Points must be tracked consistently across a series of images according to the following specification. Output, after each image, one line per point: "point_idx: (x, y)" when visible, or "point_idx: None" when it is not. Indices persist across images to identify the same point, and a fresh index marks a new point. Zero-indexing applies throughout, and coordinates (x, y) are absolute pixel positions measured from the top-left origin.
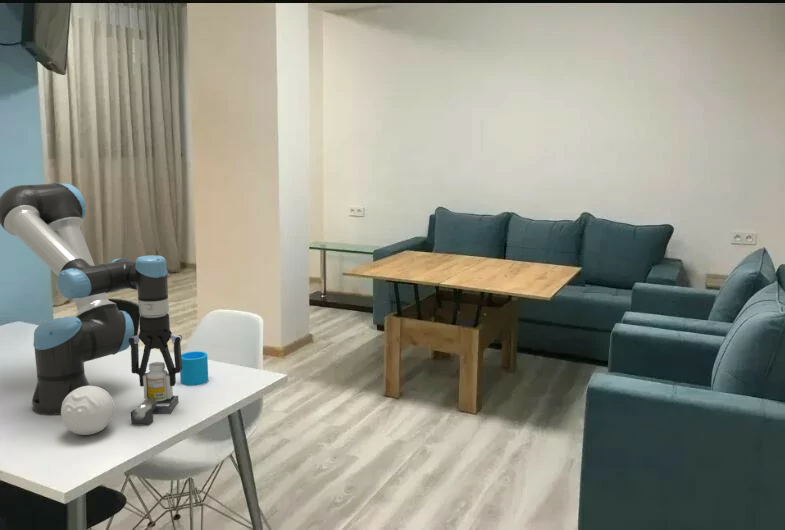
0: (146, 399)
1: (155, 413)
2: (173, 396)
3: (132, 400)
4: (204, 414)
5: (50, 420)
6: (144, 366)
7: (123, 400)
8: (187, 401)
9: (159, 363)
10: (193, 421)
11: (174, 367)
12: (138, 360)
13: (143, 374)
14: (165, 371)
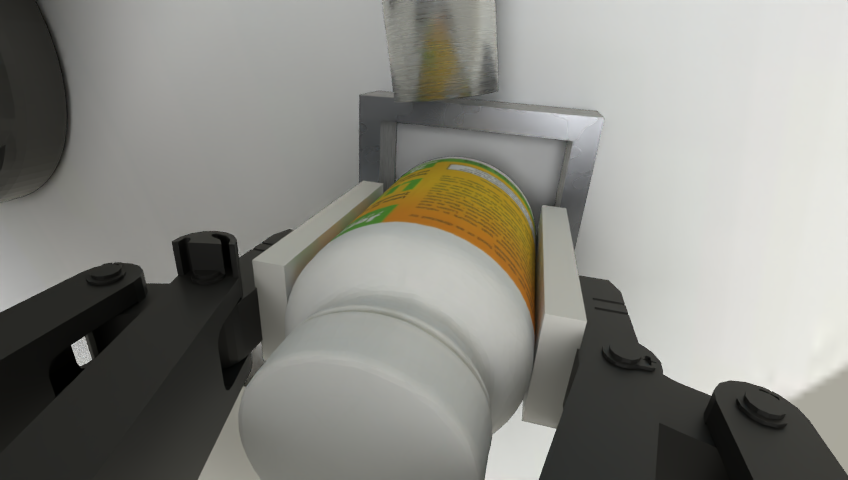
0: (366, 167)
1: None
2: (563, 135)
3: (260, 24)
4: (781, 356)
5: (28, 253)
6: (203, 454)
7: (205, 18)
8: (671, 95)
9: (386, 447)
10: None
11: (655, 410)
12: (10, 370)
13: (253, 345)
14: (503, 389)
